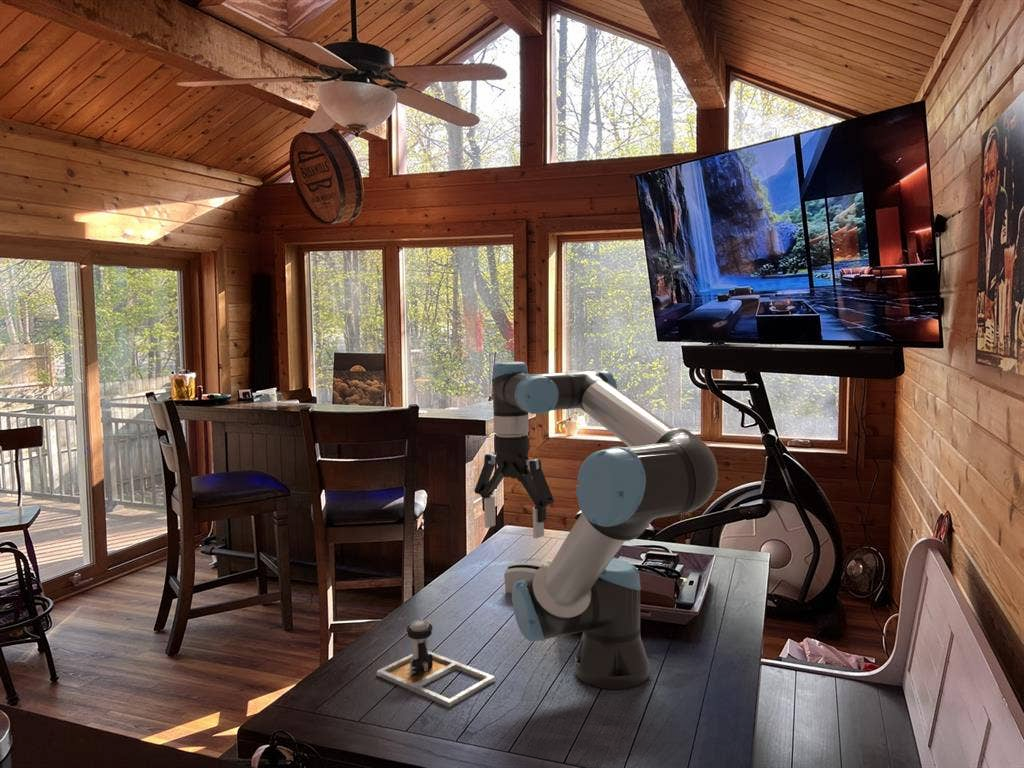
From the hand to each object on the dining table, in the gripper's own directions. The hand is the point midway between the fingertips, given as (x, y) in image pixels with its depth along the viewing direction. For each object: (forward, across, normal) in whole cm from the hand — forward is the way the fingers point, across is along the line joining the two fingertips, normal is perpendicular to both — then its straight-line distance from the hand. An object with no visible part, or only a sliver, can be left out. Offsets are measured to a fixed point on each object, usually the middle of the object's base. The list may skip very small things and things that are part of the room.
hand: (513, 531), depth 165 cm
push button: (+27, +10, +20) cm, 35 cm away
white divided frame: (+27, +5, +20) cm, 34 cm away
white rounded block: (+27, +17, -28) cm, 43 cm away
